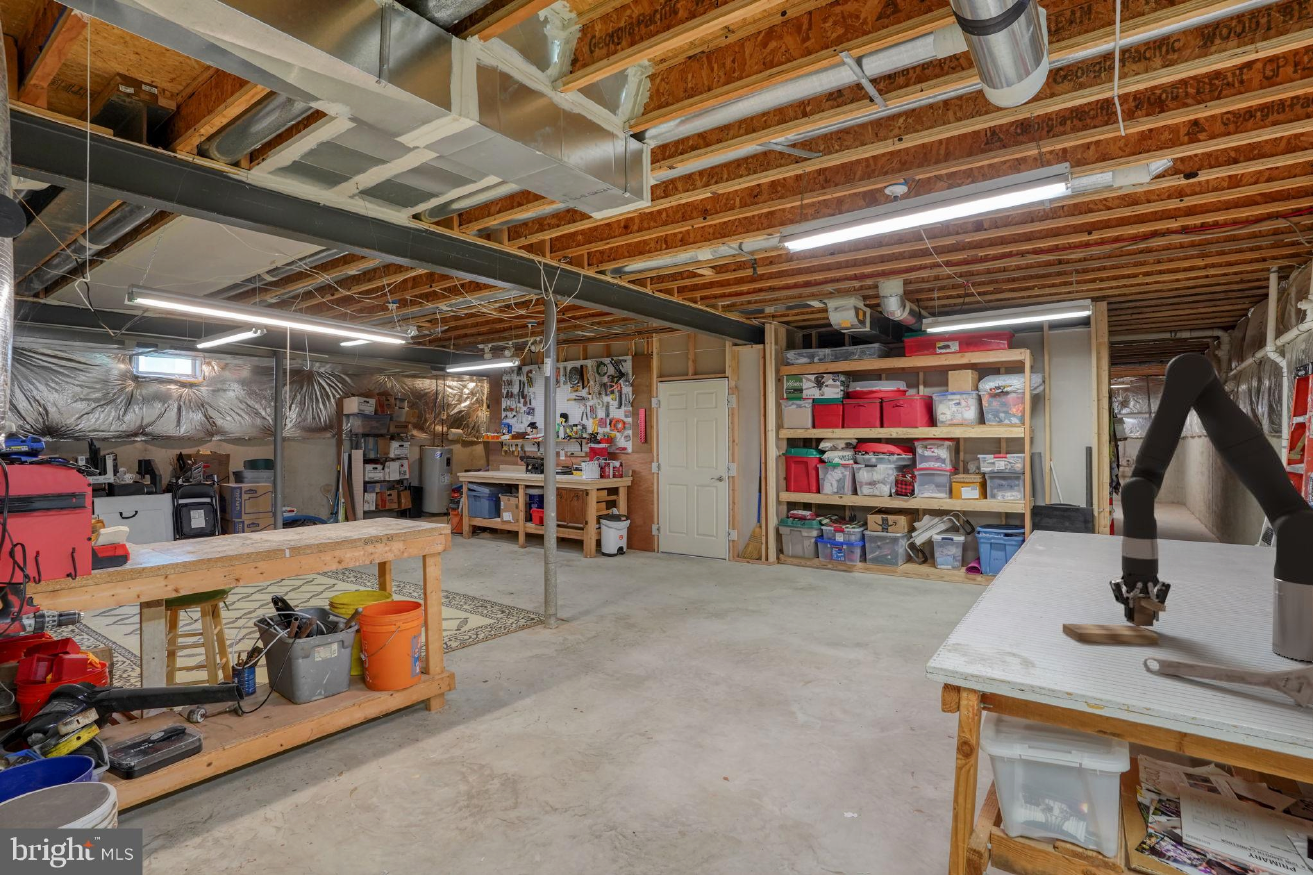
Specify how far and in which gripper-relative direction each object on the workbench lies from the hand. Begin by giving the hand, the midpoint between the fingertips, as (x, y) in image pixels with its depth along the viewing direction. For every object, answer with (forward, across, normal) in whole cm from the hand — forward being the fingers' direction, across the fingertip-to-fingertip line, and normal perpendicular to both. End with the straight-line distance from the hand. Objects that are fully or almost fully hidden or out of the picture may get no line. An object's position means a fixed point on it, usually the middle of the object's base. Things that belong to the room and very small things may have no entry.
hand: (1139, 620), depth 162 cm
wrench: (+3, -6, -38) cm, 39 cm away
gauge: (+1, 0, -3) cm, 3 cm away
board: (+2, -12, -8) cm, 15 cm away
